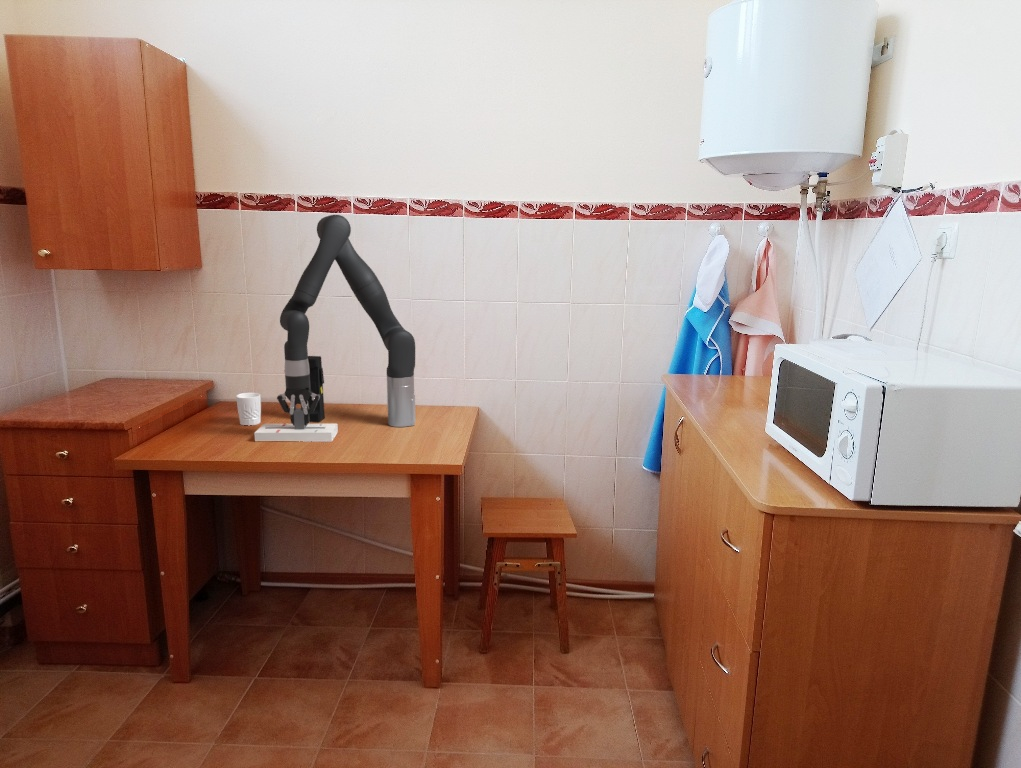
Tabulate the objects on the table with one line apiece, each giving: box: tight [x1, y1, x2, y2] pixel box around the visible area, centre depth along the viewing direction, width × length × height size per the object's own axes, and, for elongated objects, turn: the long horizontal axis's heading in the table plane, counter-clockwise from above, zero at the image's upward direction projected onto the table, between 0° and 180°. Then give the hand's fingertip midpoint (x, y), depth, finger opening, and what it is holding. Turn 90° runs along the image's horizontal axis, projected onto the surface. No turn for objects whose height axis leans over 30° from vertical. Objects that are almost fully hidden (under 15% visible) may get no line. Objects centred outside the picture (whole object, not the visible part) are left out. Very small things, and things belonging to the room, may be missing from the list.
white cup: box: [235, 392, 262, 427], centre depth 237 cm, size 8×8×10 cm
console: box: [254, 422, 339, 443], centre depth 223 cm, size 24×10×3 cm, turn 93°
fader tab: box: [294, 407, 306, 429], centre depth 222 cm, size 3×4×6 cm
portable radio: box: [300, 355, 326, 423], centre depth 240 cm, size 8×6×25 cm
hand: (300, 424), depth 223 cm, fingers closed on fader tab, 3 cm apart
